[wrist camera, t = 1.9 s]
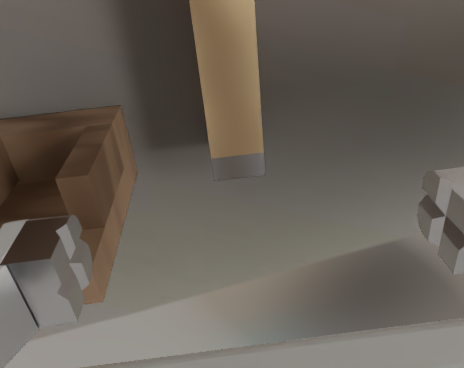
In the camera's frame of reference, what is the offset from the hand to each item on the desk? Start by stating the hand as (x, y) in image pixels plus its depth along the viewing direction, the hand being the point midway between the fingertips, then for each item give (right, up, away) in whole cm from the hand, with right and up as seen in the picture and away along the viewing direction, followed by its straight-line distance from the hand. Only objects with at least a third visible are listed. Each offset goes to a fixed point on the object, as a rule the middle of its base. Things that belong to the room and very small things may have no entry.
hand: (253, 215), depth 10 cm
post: (-11, +3, +18) cm, 21 cm away
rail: (-1, +9, +15) cm, 18 cm away
